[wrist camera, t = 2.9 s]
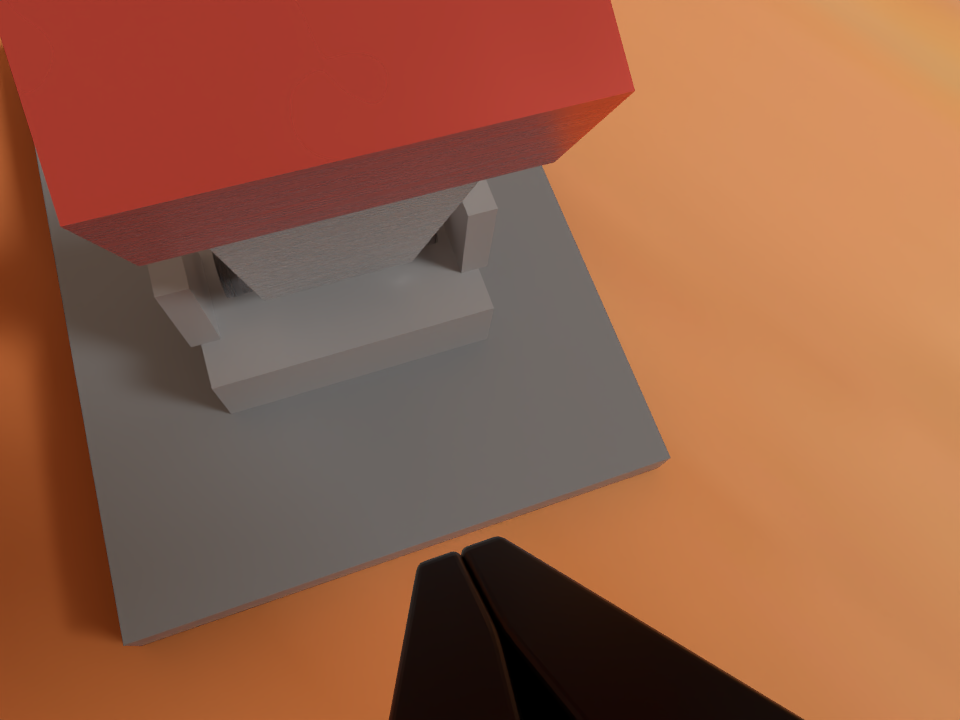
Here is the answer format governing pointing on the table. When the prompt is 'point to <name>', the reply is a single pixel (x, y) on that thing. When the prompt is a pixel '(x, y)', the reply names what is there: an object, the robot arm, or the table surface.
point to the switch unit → (341, 407)
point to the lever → (298, 120)
